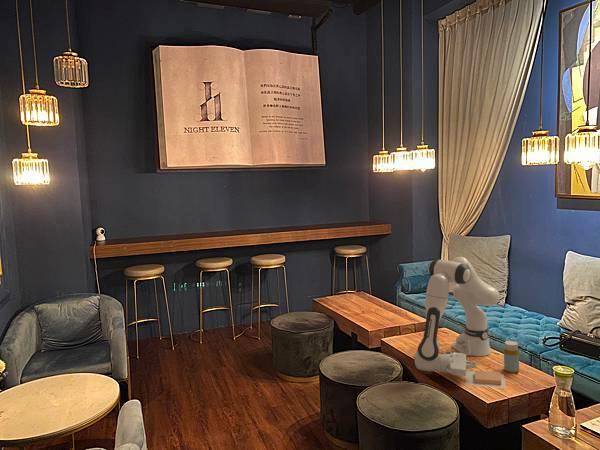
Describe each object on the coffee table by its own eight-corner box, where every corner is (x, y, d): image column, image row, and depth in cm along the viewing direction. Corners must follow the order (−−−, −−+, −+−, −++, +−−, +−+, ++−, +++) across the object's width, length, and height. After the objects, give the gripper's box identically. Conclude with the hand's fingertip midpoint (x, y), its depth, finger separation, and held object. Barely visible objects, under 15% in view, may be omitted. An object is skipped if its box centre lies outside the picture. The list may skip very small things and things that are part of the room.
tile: (474, 378, 236) (501, 380, 232) (474, 370, 245) (500, 372, 241) (474, 383, 236) (501, 385, 232) (474, 374, 245) (500, 376, 241)
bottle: (520, 374, 243) (520, 345, 241) (506, 373, 245) (505, 345, 243) (517, 368, 250) (516, 340, 248) (503, 368, 251) (502, 340, 250)
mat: (465, 386, 235) (465, 385, 235) (466, 372, 250) (466, 371, 250) (505, 389, 229) (505, 388, 229) (503, 374, 244) (503, 373, 244)
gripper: (445, 365, 234) (475, 368, 230) (447, 349, 253) (475, 351, 249) (446, 378, 235) (476, 380, 230) (448, 361, 254) (475, 363, 250)
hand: (475, 365), depth 240 cm, fingers closed
